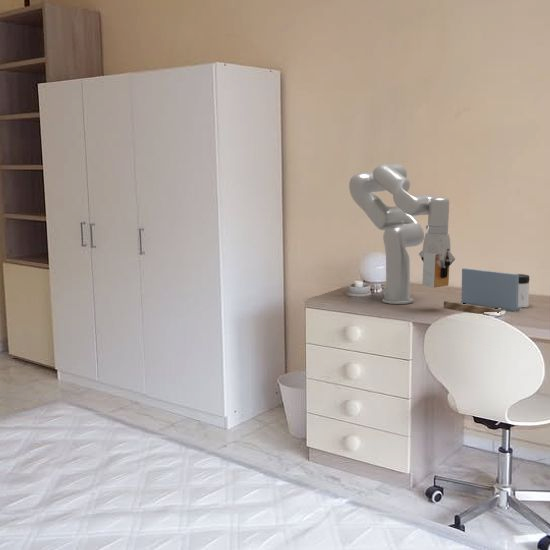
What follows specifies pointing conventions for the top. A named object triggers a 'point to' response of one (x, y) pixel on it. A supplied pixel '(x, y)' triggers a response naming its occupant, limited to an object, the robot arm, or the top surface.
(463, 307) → the cleat ledge
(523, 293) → the jar
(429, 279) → the small box
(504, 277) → the wall board
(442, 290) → the top surface
